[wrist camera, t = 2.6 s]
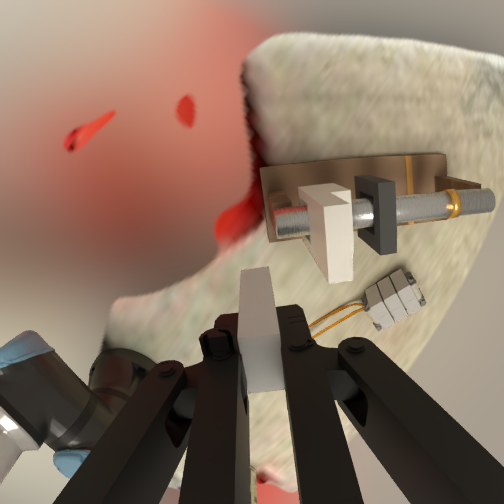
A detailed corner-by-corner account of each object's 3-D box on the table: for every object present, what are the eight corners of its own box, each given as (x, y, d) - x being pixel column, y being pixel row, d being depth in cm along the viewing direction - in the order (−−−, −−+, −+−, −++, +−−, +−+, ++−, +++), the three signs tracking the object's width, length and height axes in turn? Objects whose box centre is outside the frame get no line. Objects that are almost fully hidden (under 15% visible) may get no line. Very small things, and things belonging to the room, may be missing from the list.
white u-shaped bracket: (303, 240, 36) (328, 284, 24) (297, 186, 34) (323, 206, 22) (337, 235, 36) (376, 276, 24) (333, 182, 34) (375, 201, 22)
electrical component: (297, 354, 55) (296, 374, 51) (278, 333, 54) (276, 352, 49) (419, 289, 47) (428, 306, 42) (405, 261, 45) (414, 277, 40)
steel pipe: (276, 235, 34) (279, 244, 31) (272, 204, 33) (275, 210, 30) (480, 210, 33) (495, 216, 30) (480, 185, 32) (496, 189, 29)
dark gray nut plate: (357, 236, 36) (380, 255, 29) (354, 175, 34) (378, 182, 27) (371, 234, 36) (396, 252, 29) (368, 174, 34) (395, 181, 27)
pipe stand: (268, 239, 45) (275, 266, 35) (259, 167, 42) (263, 173, 32) (442, 217, 44) (482, 235, 34) (440, 154, 41) (482, 158, 31)
